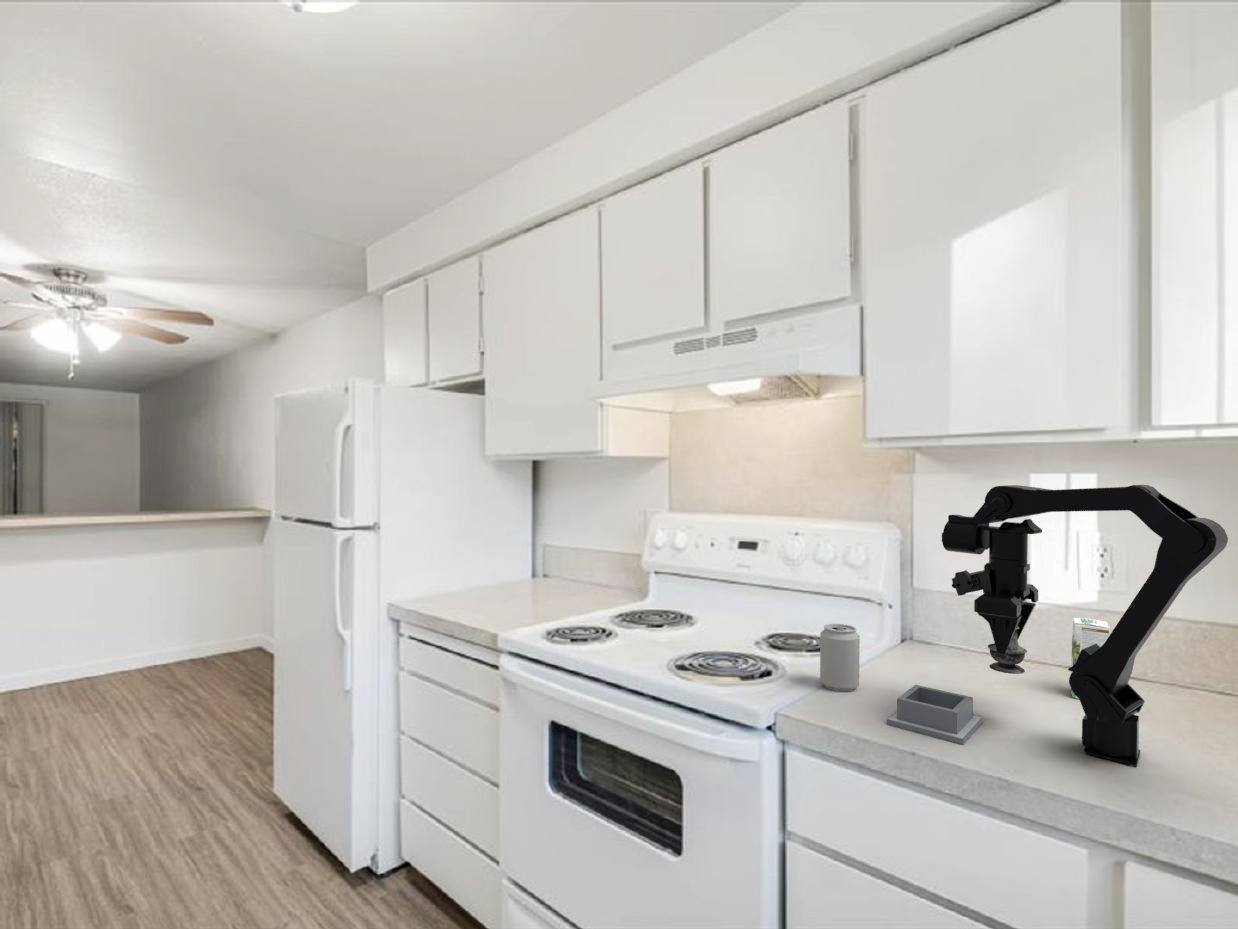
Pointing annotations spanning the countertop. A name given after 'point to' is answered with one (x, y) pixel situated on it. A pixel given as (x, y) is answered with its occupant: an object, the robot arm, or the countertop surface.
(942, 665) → the countertop surface
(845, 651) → the can
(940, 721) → the dock
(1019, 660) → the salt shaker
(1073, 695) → the syrup box
